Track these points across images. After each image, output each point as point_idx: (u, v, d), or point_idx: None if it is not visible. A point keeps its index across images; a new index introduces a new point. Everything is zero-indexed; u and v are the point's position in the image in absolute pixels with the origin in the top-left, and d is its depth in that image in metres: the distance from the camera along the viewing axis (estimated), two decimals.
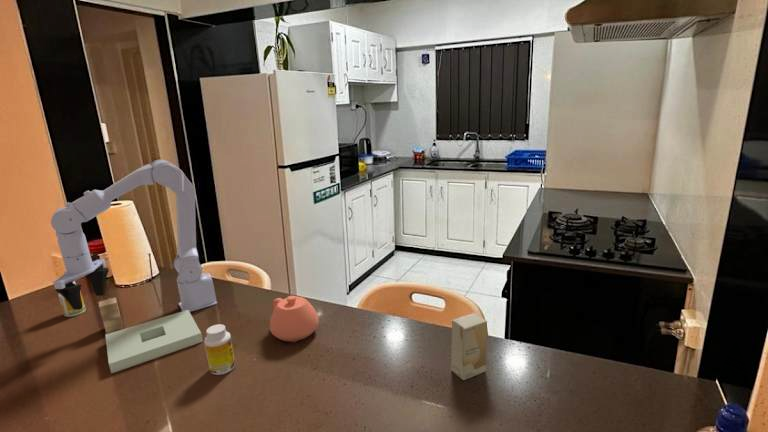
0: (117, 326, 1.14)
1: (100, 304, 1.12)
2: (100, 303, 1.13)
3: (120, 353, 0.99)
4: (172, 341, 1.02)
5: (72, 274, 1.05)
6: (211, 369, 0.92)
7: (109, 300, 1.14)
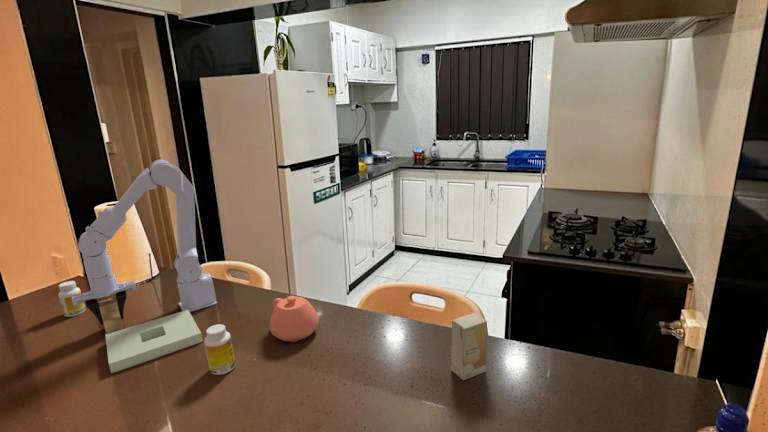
0: (117, 326, 1.14)
1: (100, 304, 1.12)
2: (100, 303, 1.13)
3: (120, 353, 0.99)
4: (172, 341, 1.02)
5: (91, 293, 1.10)
6: (211, 369, 0.92)
7: (109, 300, 1.14)
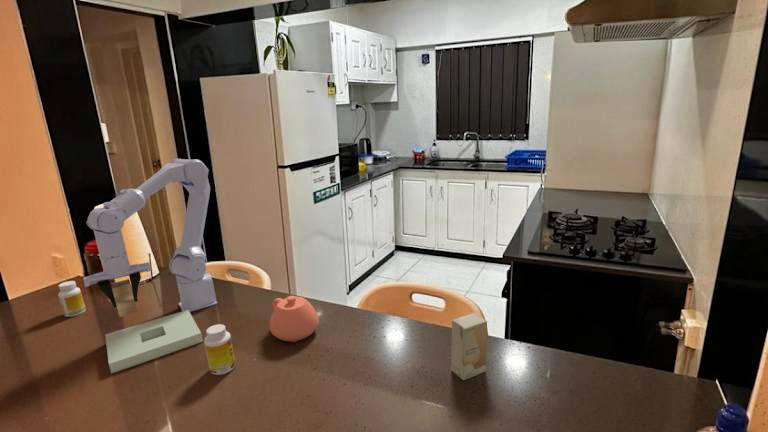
0: (131, 309, 1.08)
1: (113, 285, 1.06)
2: (113, 284, 1.07)
3: (120, 353, 0.99)
4: (172, 341, 1.02)
5: (104, 274, 1.04)
6: (211, 369, 0.92)
7: (122, 282, 1.08)
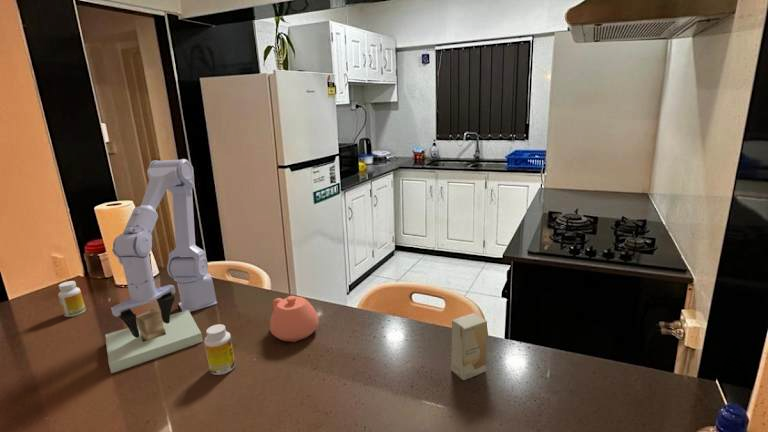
0: None
1: (142, 318, 1.03)
2: (141, 317, 1.04)
3: (120, 353, 0.99)
4: (172, 341, 1.02)
5: (132, 301, 1.01)
6: (211, 369, 0.92)
7: (148, 313, 1.06)
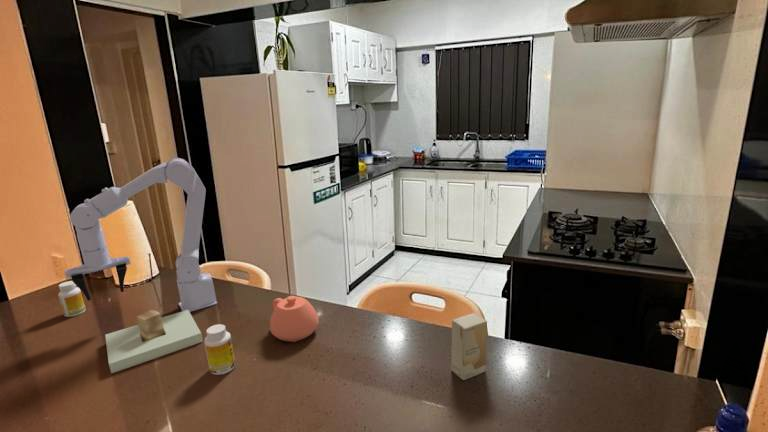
0: None
1: (142, 318, 1.03)
2: (141, 317, 1.04)
3: (120, 353, 0.99)
4: (172, 341, 1.02)
5: (84, 267, 1.10)
6: (211, 369, 0.92)
7: (148, 313, 1.06)
